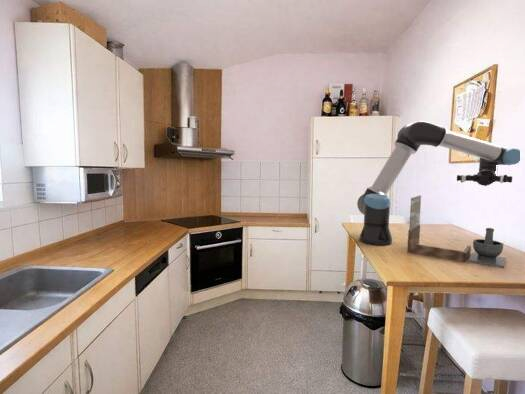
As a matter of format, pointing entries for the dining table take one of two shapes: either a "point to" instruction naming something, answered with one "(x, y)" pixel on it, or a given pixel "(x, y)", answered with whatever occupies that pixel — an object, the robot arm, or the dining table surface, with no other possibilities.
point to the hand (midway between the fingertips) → (481, 179)
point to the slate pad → (498, 263)
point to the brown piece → (424, 249)
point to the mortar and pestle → (488, 247)
